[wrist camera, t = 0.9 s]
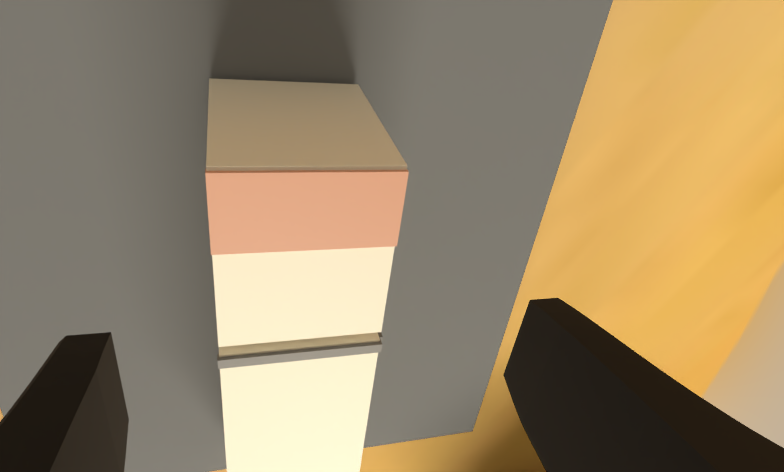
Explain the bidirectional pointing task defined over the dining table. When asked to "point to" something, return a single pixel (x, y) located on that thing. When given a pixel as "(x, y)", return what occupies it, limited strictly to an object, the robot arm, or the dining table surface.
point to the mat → (189, 196)
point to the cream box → (297, 403)
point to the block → (299, 210)
